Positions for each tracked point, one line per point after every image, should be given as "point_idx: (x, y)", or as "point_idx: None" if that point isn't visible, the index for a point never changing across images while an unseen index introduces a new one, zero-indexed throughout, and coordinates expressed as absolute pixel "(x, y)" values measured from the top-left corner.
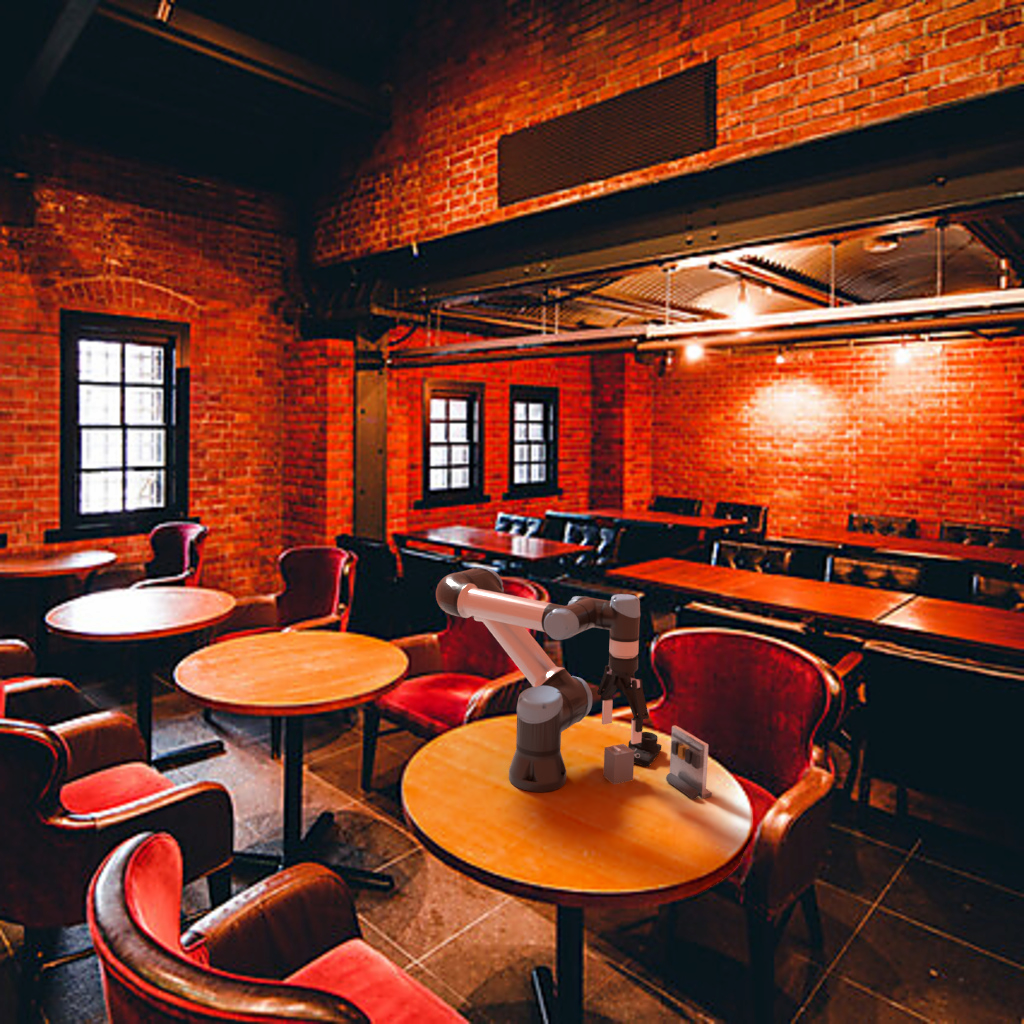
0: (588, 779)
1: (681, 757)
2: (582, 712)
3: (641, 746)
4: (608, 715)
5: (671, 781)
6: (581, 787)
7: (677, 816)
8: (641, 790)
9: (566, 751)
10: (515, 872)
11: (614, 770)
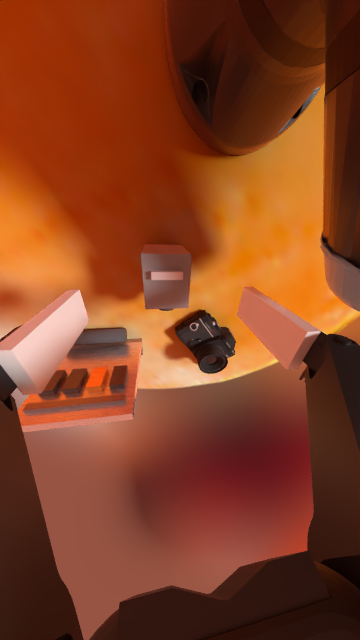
0: (181, 203)
1: (95, 369)
2: (345, 222)
3: (208, 343)
4: (254, 316)
5: (110, 330)
6: (156, 158)
7: (6, 282)
8: (110, 278)
9: (292, 235)
10: None
11: (143, 247)
